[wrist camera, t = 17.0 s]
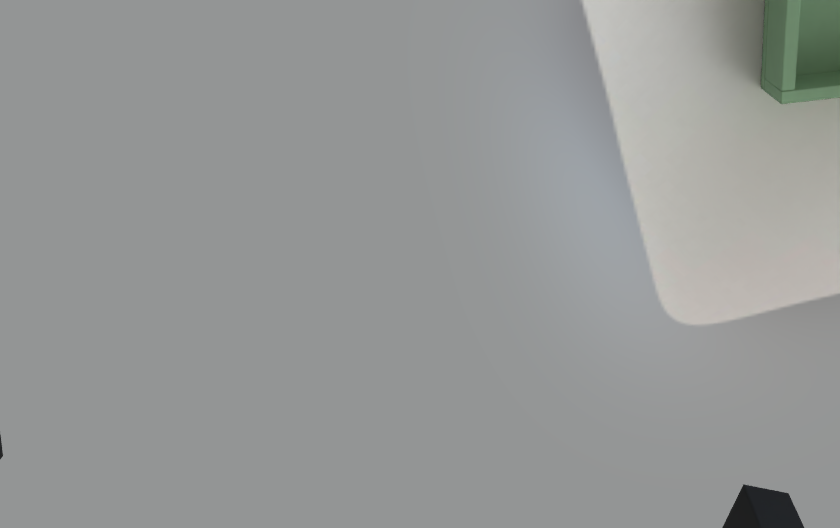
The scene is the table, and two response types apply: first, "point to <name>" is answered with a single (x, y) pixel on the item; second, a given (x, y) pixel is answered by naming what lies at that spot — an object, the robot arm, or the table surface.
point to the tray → (801, 50)
